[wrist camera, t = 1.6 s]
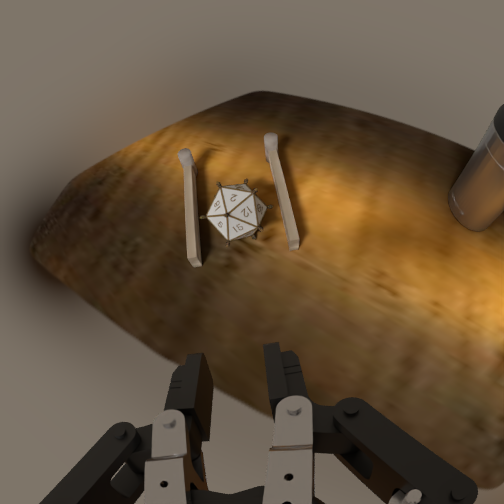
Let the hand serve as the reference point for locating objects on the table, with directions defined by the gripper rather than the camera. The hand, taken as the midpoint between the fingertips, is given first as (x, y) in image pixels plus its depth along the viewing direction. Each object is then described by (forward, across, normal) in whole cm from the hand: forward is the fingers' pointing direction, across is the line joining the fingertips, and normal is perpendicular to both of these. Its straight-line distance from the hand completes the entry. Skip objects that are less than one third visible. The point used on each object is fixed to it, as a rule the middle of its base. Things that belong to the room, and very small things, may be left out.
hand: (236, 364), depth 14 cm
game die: (+32, 0, +2) cm, 32 cm away
